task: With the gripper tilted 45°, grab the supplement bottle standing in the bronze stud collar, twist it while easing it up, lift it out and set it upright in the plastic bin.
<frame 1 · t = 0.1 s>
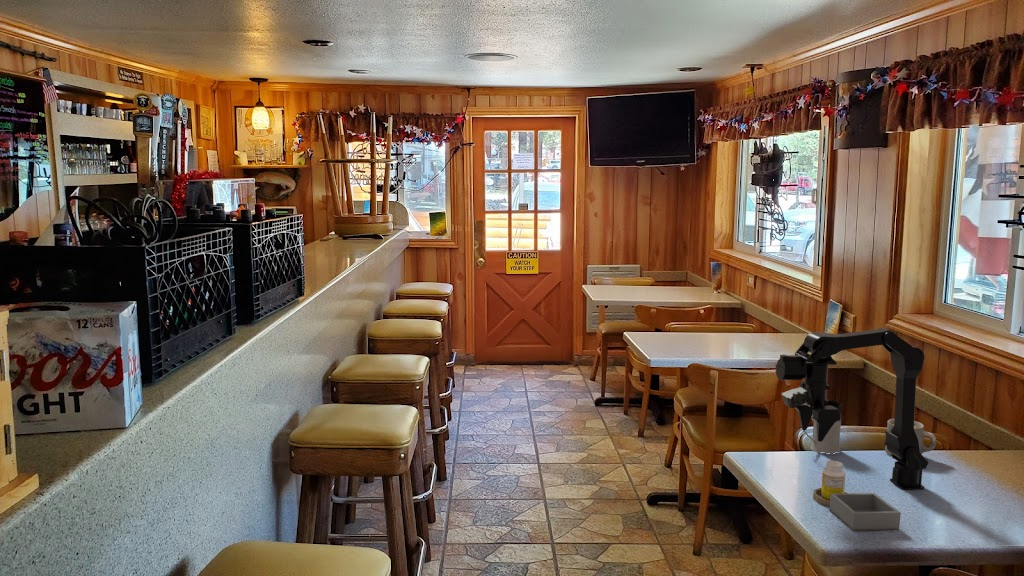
hand: (811, 435, 206), 15 cm above the table, tool pointing down, fingers open, 9 cm apart
coffee mug: (908, 456, 233), on the table
bin: (863, 520, 188), on the table
glass holder: (817, 451, 237), on the table
stud collar: (832, 500, 199), on the table
supplement bottle: (831, 501, 199), resting in stud collar
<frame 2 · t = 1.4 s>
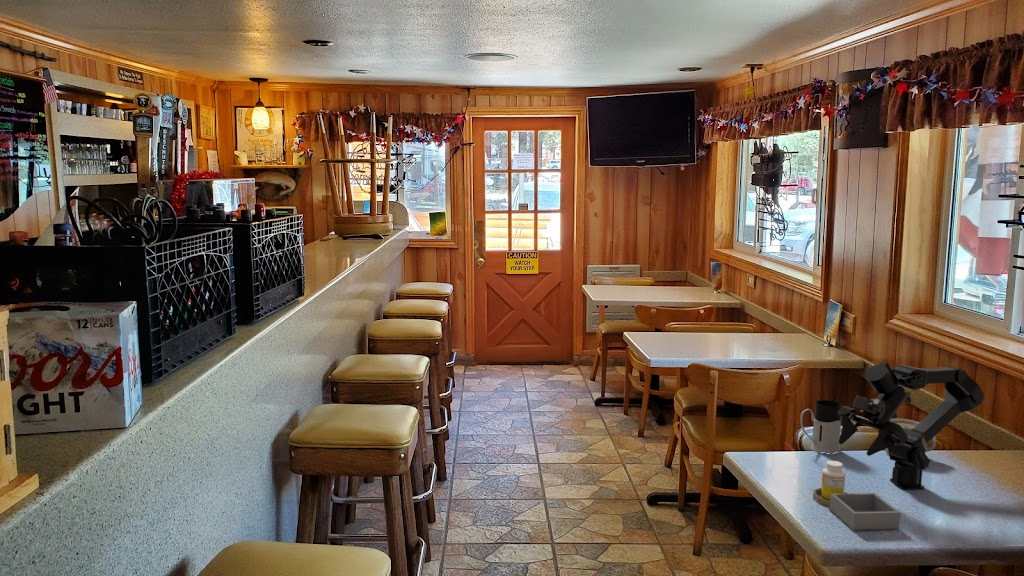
hand: (853, 449, 200), 13 cm above the table, tool tilted 45°, fingers open, 9 cm apart
nothing on the table moved.
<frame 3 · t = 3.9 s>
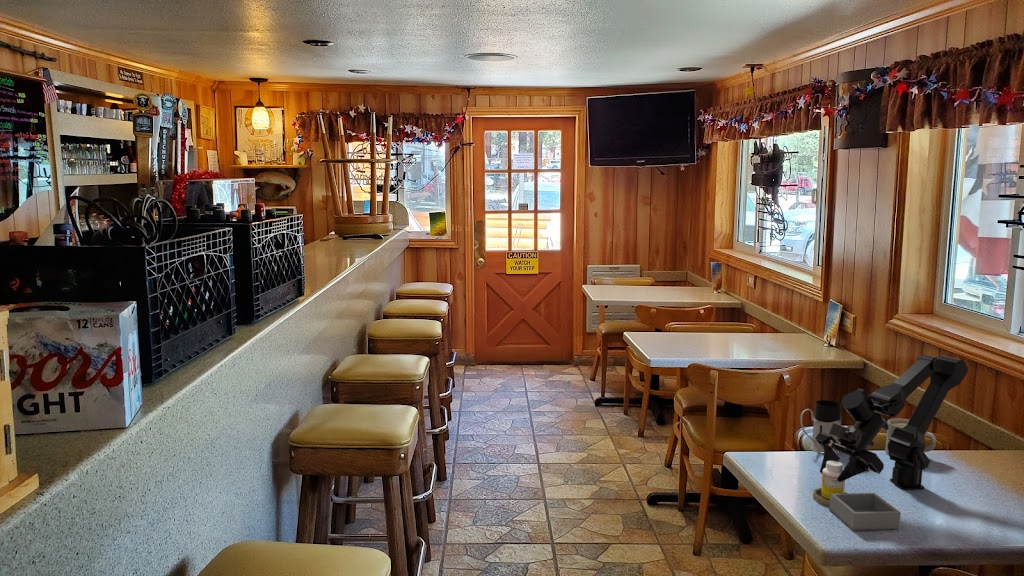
hand: (829, 477, 198), 7 cm above the table, tool tilted 45°, fingers closed on supplement bottle, 5 cm apart
supplement bottle: (831, 500, 199), resting in stud collar, touching gripper
everything else where it was.
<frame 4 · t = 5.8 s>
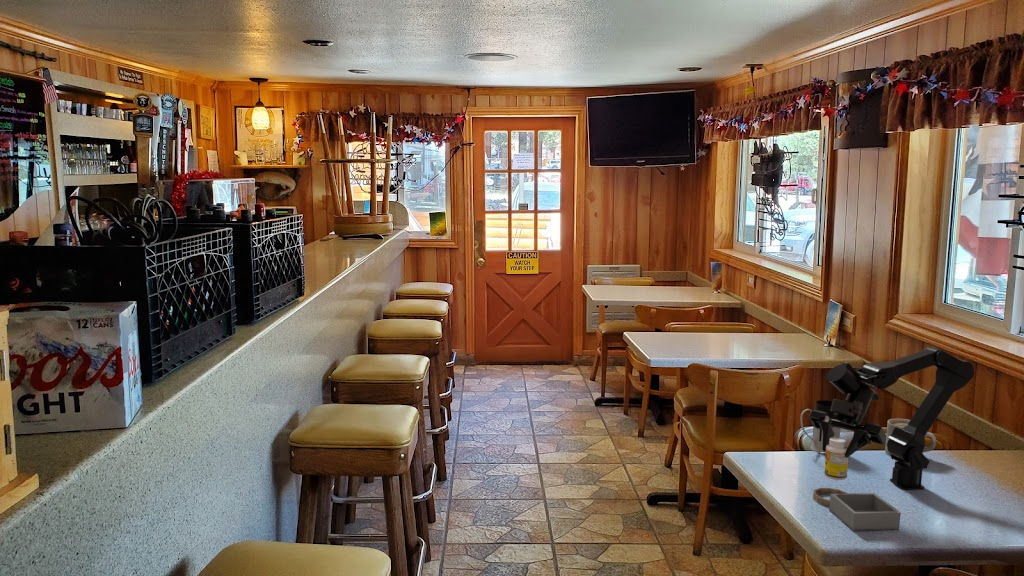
hand: (834, 453, 196), 13 cm above the table, tool tilted 45°, fingers closed on supplement bottle, 5 cm apart
supplement bottle: (835, 477, 198), point 6 cm above the table, touching gripper
everything else where it was.
when the fingers open (8 cm above the table, at t = 8.2 s): supplement bottle drops 1 cm, resting on bin.
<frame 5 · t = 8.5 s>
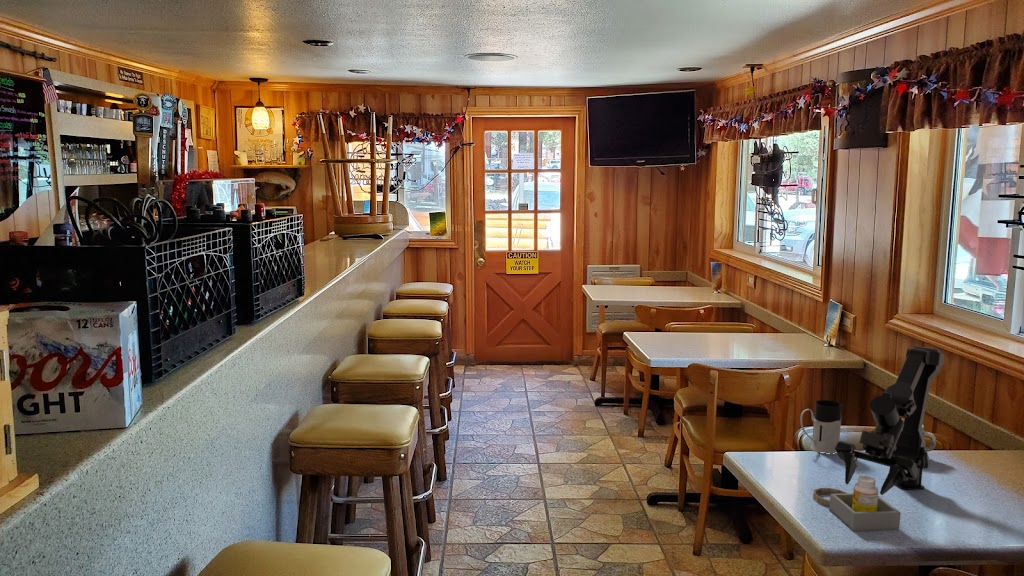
hand: (863, 488, 186), 9 cm above the table, tool tilted 45°, fingers open, 8 cm apart
supplement bottle: (863, 518, 188), resting on bin
everything else where it was.
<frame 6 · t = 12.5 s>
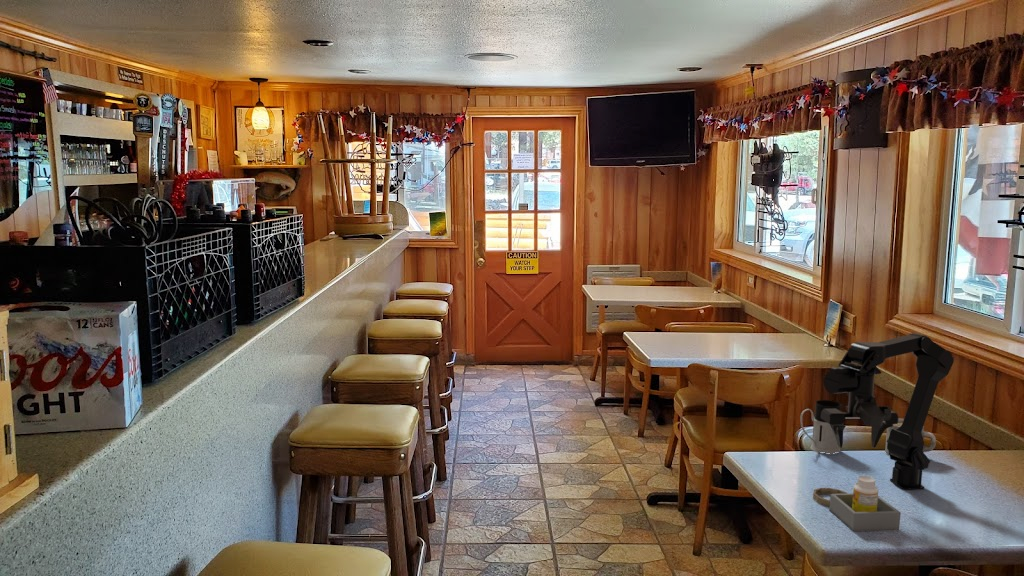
hand: (856, 447, 202), 13 cm above the table, tool pointing down, fingers open, 9 cm apart
nothing on the table moved.
at the end: supplement bottle inside the target area on the bin (0.1 cm from its centre), point 0.3 cm above the bin's base; supplement bottle tilted 0°; the gripper is holding nothing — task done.
